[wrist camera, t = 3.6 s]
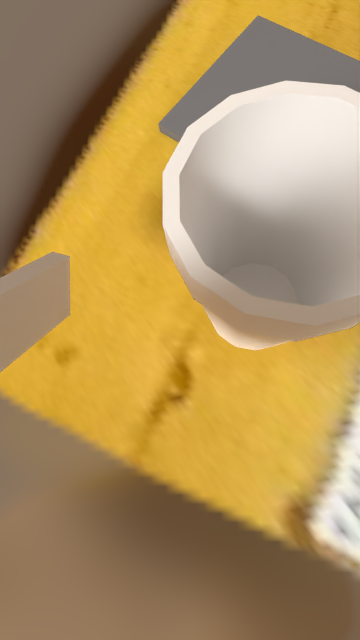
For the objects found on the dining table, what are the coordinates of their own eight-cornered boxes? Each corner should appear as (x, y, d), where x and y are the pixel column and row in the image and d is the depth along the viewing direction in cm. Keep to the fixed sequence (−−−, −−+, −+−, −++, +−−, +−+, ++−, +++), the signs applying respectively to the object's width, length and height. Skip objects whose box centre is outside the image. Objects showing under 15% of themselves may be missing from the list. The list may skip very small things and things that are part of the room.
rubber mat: (448, 113, 27) (455, 104, 26) (352, 244, 25) (356, 239, 24) (256, 25, 31) (258, 15, 30) (160, 131, 29) (158, 123, 28)
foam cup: (186, 247, 26) (163, 91, 13) (312, 241, 25) (415, 69, 12) (188, 375, 23) (162, 330, 11) (328, 372, 22) (478, 321, 10)
